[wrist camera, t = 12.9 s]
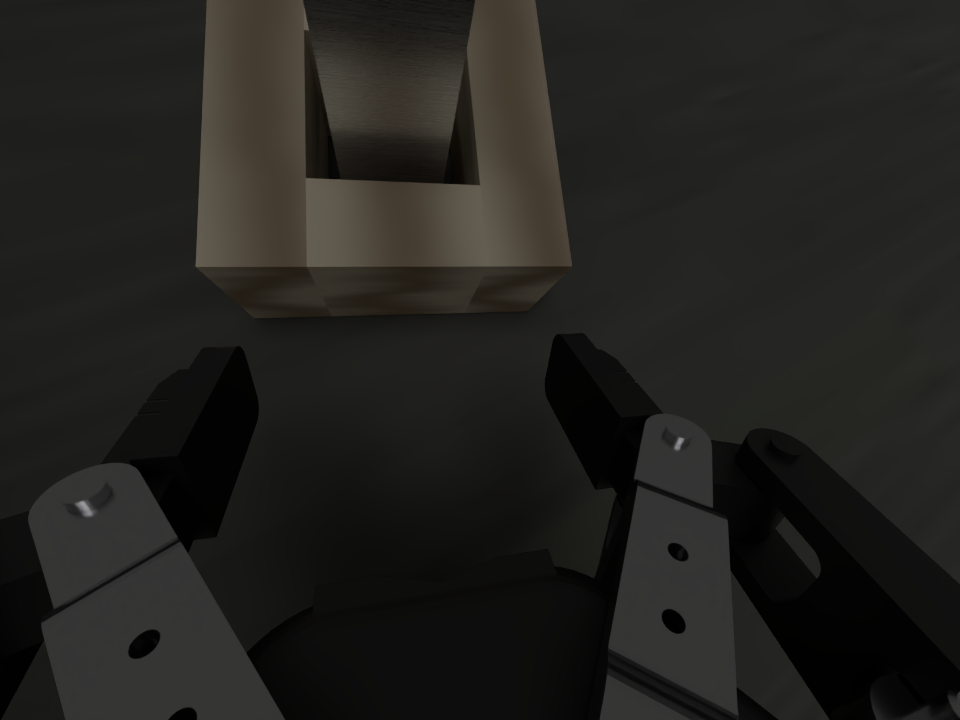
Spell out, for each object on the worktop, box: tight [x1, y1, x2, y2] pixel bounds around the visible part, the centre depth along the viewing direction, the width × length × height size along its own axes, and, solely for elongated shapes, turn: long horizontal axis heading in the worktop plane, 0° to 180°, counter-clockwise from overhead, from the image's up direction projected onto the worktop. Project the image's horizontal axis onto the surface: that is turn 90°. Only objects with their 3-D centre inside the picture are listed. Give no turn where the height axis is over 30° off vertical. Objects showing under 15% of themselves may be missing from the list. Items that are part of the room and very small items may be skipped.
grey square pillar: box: [303, 0, 475, 184], centre depth 16 cm, size 4×4×14 cm
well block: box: [196, 0, 572, 318], centre depth 20 cm, size 14×14×6 cm
